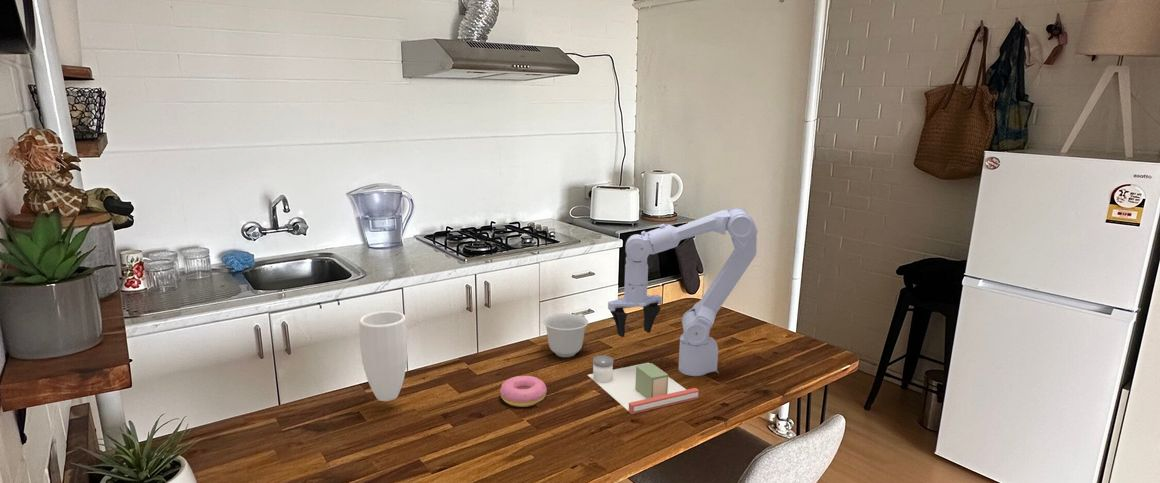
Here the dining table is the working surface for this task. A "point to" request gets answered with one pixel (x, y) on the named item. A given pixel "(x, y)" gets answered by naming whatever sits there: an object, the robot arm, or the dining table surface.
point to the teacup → (565, 333)
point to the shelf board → (635, 402)
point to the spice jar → (602, 369)
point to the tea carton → (651, 381)
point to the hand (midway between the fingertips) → (634, 333)
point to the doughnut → (523, 391)
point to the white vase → (384, 352)
